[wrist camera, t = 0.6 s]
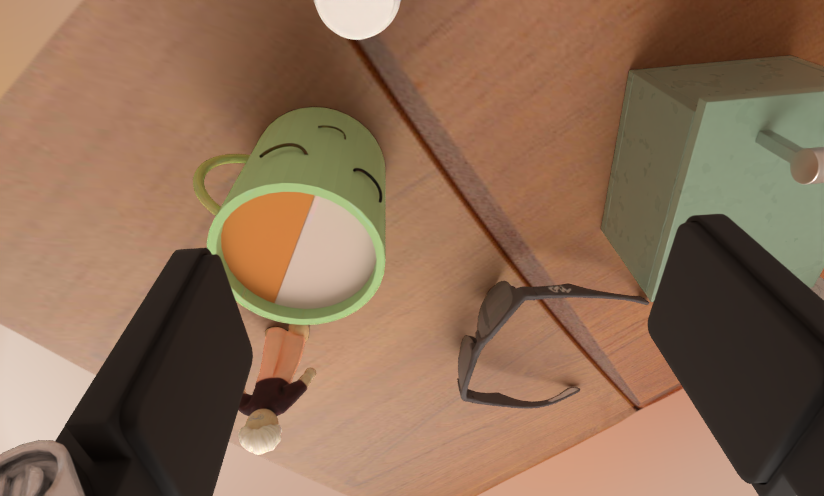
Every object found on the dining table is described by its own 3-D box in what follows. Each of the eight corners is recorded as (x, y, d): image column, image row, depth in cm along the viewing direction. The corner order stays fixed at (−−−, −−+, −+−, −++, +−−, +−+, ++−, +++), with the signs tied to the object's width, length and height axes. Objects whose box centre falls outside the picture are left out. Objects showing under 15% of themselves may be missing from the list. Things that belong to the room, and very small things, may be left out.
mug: (407, 134, 36) (416, 215, 26) (358, 240, 41) (350, 341, 31) (239, 64, 33) (176, 128, 23) (209, 189, 38) (148, 286, 28)
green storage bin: (629, 70, 34) (694, 111, 27) (791, 54, 34) (901, 92, 27) (600, 229, 42) (645, 294, 35) (732, 217, 42) (805, 280, 34)
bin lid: (698, 97, 26) (765, 135, 22) (909, 77, 26) (1020, 112, 22) (645, 295, 35) (685, 353, 30) (805, 280, 34) (870, 336, 30)
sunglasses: (498, 251, 42) (516, 287, 38) (645, 278, 48) (675, 313, 44) (435, 371, 51) (445, 411, 47) (565, 383, 56) (584, 420, 52)
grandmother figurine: (305, 307, 45) (281, 424, 35) (326, 333, 47) (310, 450, 37) (239, 335, 47) (198, 454, 37) (263, 359, 49) (230, 477, 39)
